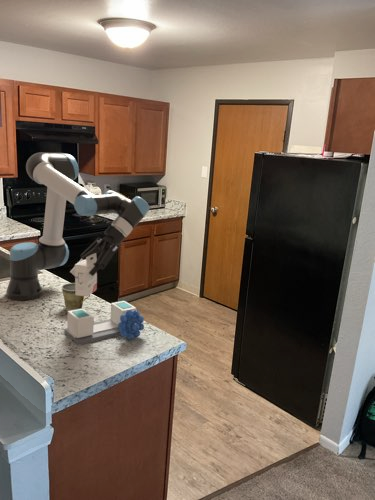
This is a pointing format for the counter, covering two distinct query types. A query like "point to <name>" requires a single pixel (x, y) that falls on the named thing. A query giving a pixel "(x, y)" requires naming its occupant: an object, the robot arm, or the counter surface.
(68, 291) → the ceramic cup
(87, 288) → the ink cartridge box
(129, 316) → the blue thick lobed disc
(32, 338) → the counter surface
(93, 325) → the rail board
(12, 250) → the robot arm
